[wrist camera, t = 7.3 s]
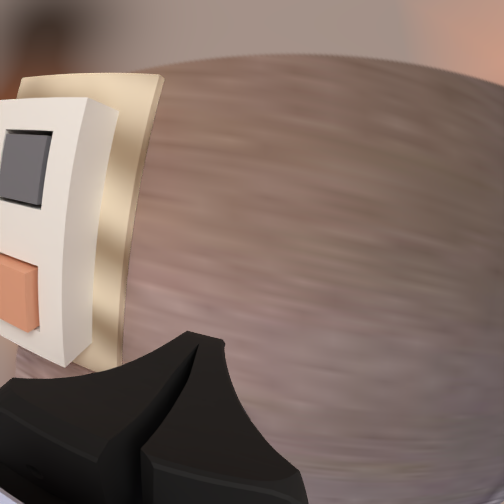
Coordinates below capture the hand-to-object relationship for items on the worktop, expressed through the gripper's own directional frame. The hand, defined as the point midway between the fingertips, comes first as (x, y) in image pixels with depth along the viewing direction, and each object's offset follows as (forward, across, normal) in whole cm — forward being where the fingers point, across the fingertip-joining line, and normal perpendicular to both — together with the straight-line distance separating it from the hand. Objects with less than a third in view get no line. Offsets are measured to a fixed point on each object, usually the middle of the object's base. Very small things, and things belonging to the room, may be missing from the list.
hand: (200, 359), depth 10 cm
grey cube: (+9, +14, -5) cm, 17 cm away
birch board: (+10, +14, -1) cm, 17 cm away
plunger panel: (+10, +14, -1) cm, 17 cm away
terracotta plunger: (+8, +14, +3) cm, 16 cm away
